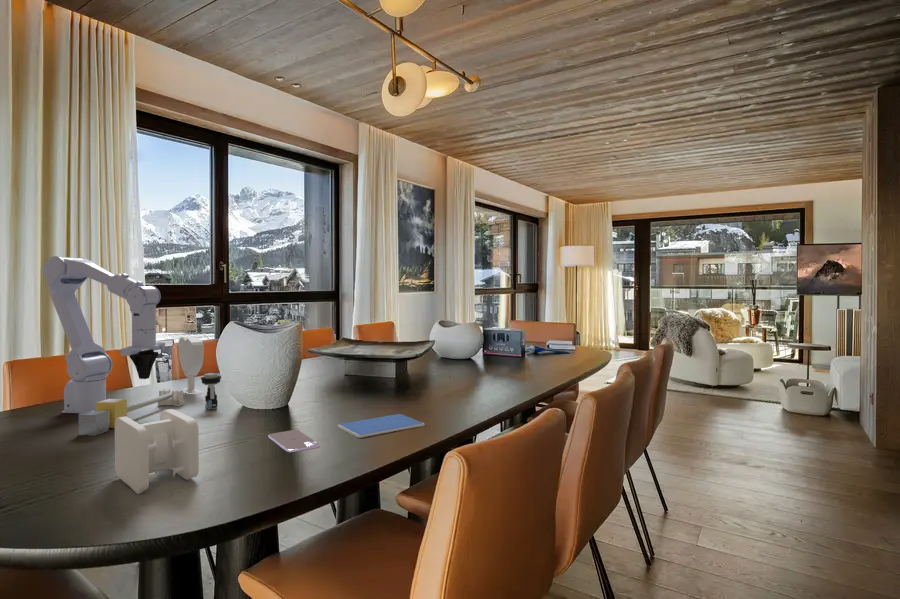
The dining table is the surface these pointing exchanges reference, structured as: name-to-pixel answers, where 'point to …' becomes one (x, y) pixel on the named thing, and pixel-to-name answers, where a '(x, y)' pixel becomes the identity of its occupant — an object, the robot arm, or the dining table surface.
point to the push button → (211, 389)
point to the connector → (94, 422)
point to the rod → (149, 402)
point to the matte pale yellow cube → (113, 409)
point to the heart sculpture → (191, 359)
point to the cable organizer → (156, 448)
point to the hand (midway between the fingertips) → (144, 378)
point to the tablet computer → (379, 425)
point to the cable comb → (176, 397)
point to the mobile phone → (293, 441)
